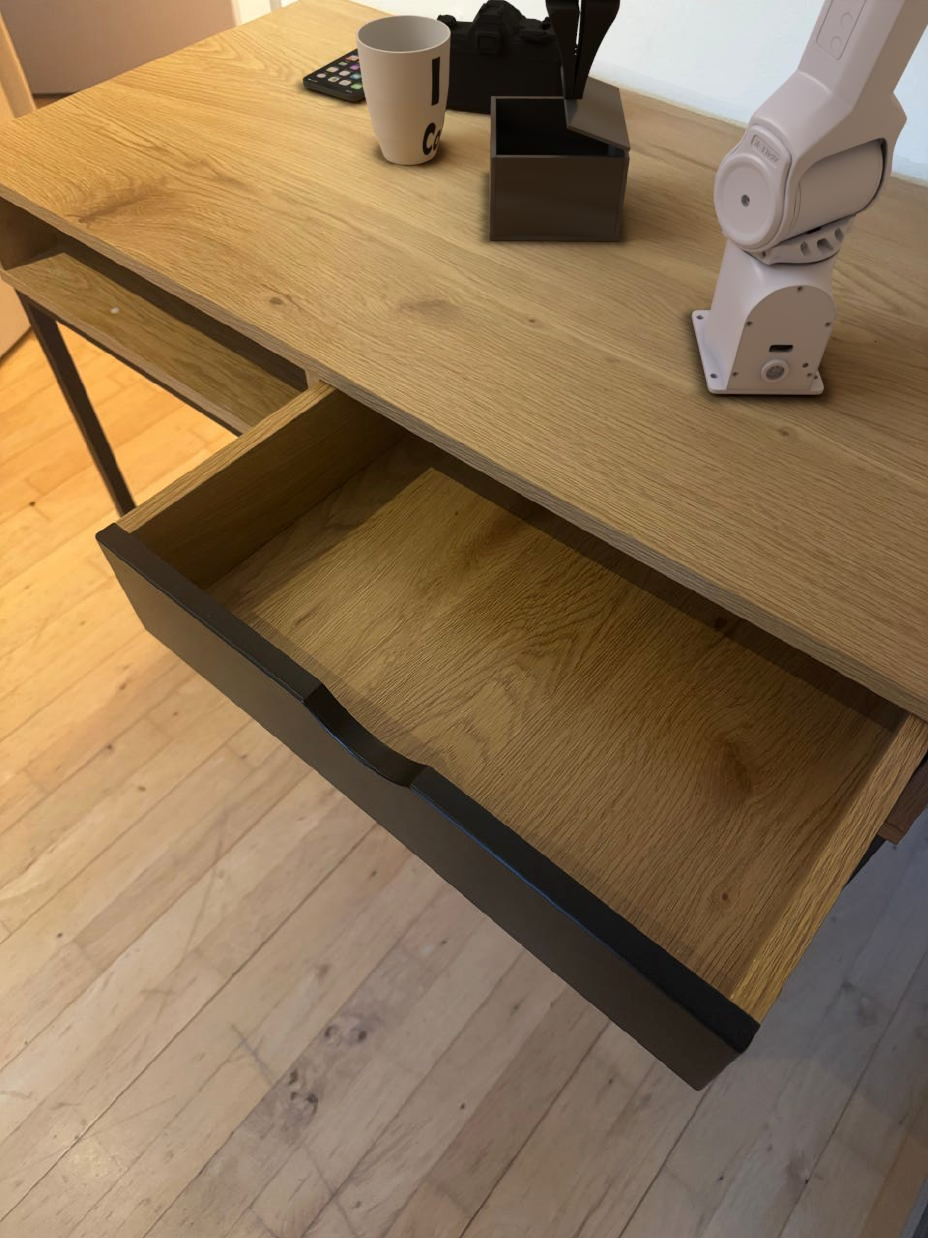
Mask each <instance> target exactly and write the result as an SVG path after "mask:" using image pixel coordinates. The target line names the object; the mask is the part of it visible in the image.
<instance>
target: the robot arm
mask: <svg viewBox="0 0 928 1238" xmlns="http://www.w3.org/2000/svg"><path fill="white" fill-rule="evenodd" d="M544 3H545V10H546V12H547V15H548V17H549V19H550V22H551V24H552V27H553V31H554V34H555V37H556V41H557V45H558V49H559V53H560V57H561V63H562V69H563V94H564V99H573V98H574V99H579V100H581V99H583V93H584V89H585V85H586V81H587V78H588V76H590V72H591V69H592V66H593V63H594V61H595V58H596V57H597V53H598V51H599V50H600V47H601V45H602V43H603V41H604V39H605V37H606V35H607V34H608V32H609V30H610V28H611V26H612V25H613V23H614V22H615V20H616V18H617V16H618V13H619V10H620V8H621V0H544ZM927 27H928V0H824V1H823V4H822V6H821V9H820V11H819V14H818V16H817V19H816V21H815V23H814V26H813V28H812V31H811V33H810V36H809V39H808V41H807V44H806V46H805V48H804V51H803V53H802V56H801V58H800V61H799V63H798V66H797V68H796V70H795V71H794V72H793V73H792V74H791V75H790V76H789V77H788V78H787V79H786V80H785V81H784V82H783V83H782V84H781V85H780V86H779V87H778V88H777V89H776V90H775V91H774V92H773V93H772V94H771V95H770V96H768V98H767V99H766V100H765V101H764V102H762V104H761V105H760V106H759V107H758V108H757V109H756V110H755V111H754V112H753V114H752V115H751V116H750V118H749V121H748V125H747V127H746V129H745V132H744V133H743V135H742V137H741V139H740V140H739V141H738V143H737V144H736V145H735V146H734V147H733V148H731V149H730V150H729V151H728V152H727V153H726V154H725V156H724V157H723V159H722V160H721V162H720V164H719V166H718V169H717V171H716V175H715V179H714V184H713V204H714V205H713V206H714V210H715V215H716V218H717V221H718V224H719V225H720V228H721V230H722V232H721V234H722V236H723V237H724V238H726V239H727V240H726V244H725V248H724V252H723V256H722V261H721V264H720V269H719V272H718V276H717V281H716V285H715V289H714V293H713V296H712V297H713V298H712V301H711V306H710V309H696V310H694V311H693V312H692V314H691V321H692V325H693V329H694V333H695V337H696V343H697V347H698V351H699V356H700V359H701V364H702V369H703V372H704V378H705V381H706V386H707V390H708V392H710V393H711V394H717V395H809V396H810V395H812V396H813V395H814V396H818V395H821V394H822V393H823V391H824V389H825V386H824V382H823V380H822V377H821V374H820V372H819V366H820V364H821V361H822V359H823V356H824V353H825V351H826V348H827V345H828V342H829V340H830V337H831V334H832V332H833V329H834V326H835V323H836V319H837V305H836V300H835V297H834V292H833V273H834V268H835V266H836V263H837V259H838V257H839V254H840V251H841V248H842V245H843V243H844V240H845V238H846V235H849V234H850V233H851V232H852V229H853V227H854V226H853V225H854V224H855V220H856V217H857V215H859V214H861V213H864V212H866V211H868V210H869V209H871V208H872V207H873V206H874V205H875V204H876V203H877V202H878V201H879V200H880V198H882V196H883V194H884V192H885V191H886V189H887V187H888V184H889V181H890V178H891V173H892V168H893V160H894V153H895V148H896V144H897V142H898V139H899V137H900V135H901V132H902V131H903V129H904V127H905V125H906V123H907V121H908V116H907V115H906V112H905V110H904V108H903V106H902V104H901V102H900V101H899V99H898V97H897V95H896V94H895V93H894V92H895V90H896V88H897V86H898V84H899V82H900V80H901V78H902V76H903V74H904V72H905V70H906V68H907V66H908V64H909V63H910V61H911V59H912V57H913V54H914V52H915V50H916V49H917V47H918V45H919V43H920V41H921V39H922V37H923V35H924V33H925V31H926V29H927ZM576 43H577V52H576V58H575V51H576Z"/></svg>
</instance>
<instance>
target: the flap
mask: <svg viewBox="0 0 928 1238" xmlns="http://www.w3.org/2000/svg"><path fill="white" fill-rule="evenodd" d="M561 78H562V87H563V69H562V67H561ZM620 91H621V90H620V87H618V86H616V85H612V84H610V83H607V82H605V81H602V80H600V79H597V78H595V77H592V76H590V75H588V78H587V81H586V85H585V89H584V93H583V99H581V100H579V99H574V98H573V99H564V105H565V114H566V123H567V129H569V130H572V131H575V132H577V133H580V134H583V135H585V136H588V137H591V138H593V139H596V140H599V141H601V142H604V143H607V144H610V145H612V146H615V147H618V148H620V149H623V150H626V151H628V152H629V153H630V151H631V149H632V148H631V143H630V136H629V132H628V128H627V127H628V126H627V121H626V116H625V112H624V107H623V100H622V97H621V92H620ZM563 96H564V94H563Z"/></svg>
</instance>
